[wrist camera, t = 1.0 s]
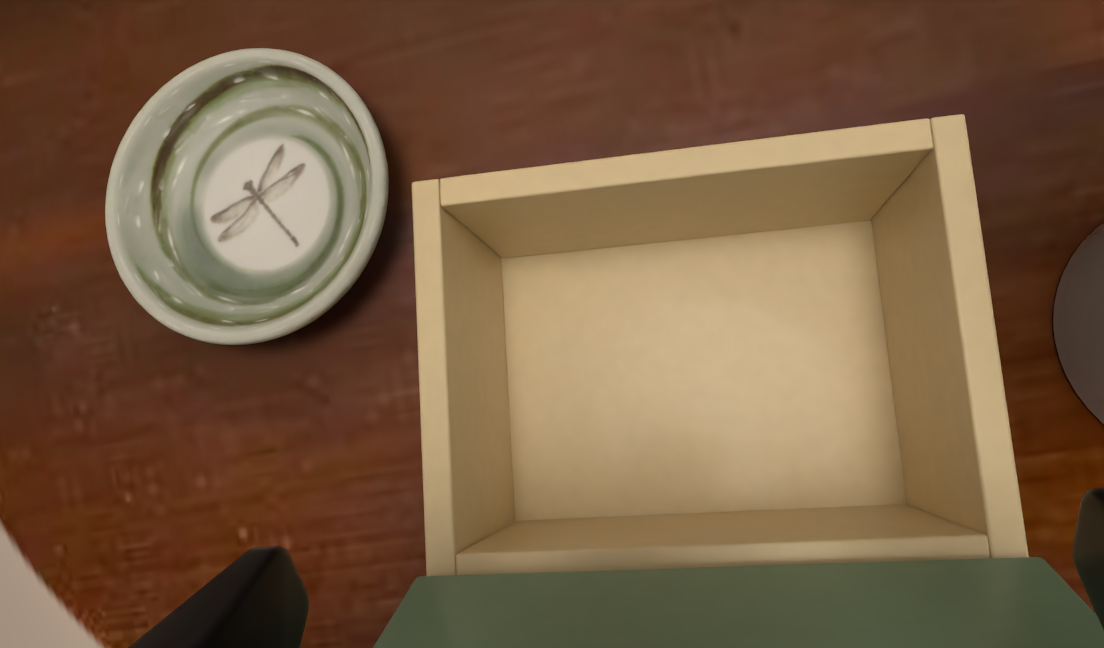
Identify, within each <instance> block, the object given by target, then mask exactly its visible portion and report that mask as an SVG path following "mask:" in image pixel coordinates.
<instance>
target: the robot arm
mask: <svg viewBox="0 0 1104 648" xmlns="http://www.w3.org/2000/svg"><path fill="white" fill-rule="evenodd" d="M1073 558H1074V562H1075V566H1076V569H1077V571H1078V574H1079V576H1080V578H1081V580H1082V583H1083V585H1084V587H1085V589H1086V592H1087V594H1088V596H1089V599H1090V601H1091V603H1092V605H1093V608H1094V610H1095V612H1096V614H1097V617H1098V619H1099V621H1100V623H1101V626H1102V628H1103V630H1104V488H1095V489H1091V490H1088V491H1087V492H1086V493H1085V494H1084V495H1083V497H1082V500H1081V505H1080V510H1079V515H1078V520H1077V526H1076V531H1075V536H1074V541H1073ZM308 606H309V602H308V594H307V591H306V588H305V586H304V584H303V582H302V580H301V578H300V575H299V573H298V571H297V569H296V567H295V565H294V563H293V561H292V558H291V556H290V554H289V553H288V551H287V550H286V549H284V548H283V547H279V546H275V547H261V548H254V549H250V550H248V551H247V552H246V553H244V554H243V555H242V556H241V557H239V558H238V559H237V560H236V561H234V562H233V563H232V564H231V565H229V566H228V567H227V568H226V569H225V570H223V571H222V572H221V573H220V574H218V575H217V576H216V577H215V578H214V579H212V580H211V581H210V582H209V583H207V584H206V585H205V586H204V587H202V588H201V589H200V590H199V591H198V592H196V593H195V594H194V595H193V596H191V597H190V598H189V599H188V600H187V601H185V602H184V603H183V604H182V605H180V606H179V607H178V608H177V609H176V610H174V611H173V612H172V613H171V614H169V615H168V616H167V617H166V618H164V619H163V620H162V621H161V622H160V623H158V624H157V625H156V626H155V627H153V628H152V629H151V630H150V631H149V632H147V633H146V634H145V635H144V636H142V637H141V638H140V639H139V640H137V641H136V642H135V643H134V644H133V645H131V646H130V647H129V648H300V644H301V640H302V636H303V631H304V627H305V623H306V618H307V614H308Z"/></svg>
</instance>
